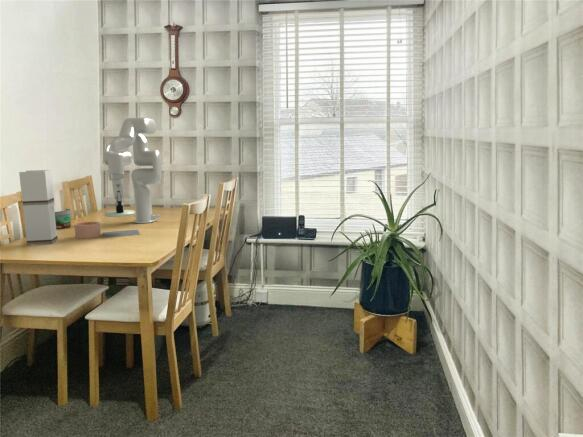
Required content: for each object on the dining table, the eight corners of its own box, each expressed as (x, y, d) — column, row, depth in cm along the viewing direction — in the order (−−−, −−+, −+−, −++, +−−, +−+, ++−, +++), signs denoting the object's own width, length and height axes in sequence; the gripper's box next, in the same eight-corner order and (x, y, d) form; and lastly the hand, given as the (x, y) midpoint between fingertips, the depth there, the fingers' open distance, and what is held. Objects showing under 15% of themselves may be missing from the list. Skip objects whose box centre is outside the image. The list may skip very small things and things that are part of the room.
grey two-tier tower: (57, 239, 266) (51, 169, 260) (52, 243, 255) (44, 171, 250) (33, 240, 264) (26, 170, 258) (26, 245, 253) (19, 172, 248)
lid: (134, 210, 283) (133, 199, 282) (136, 215, 269) (135, 203, 268) (104, 213, 278) (103, 201, 277) (105, 217, 264) (104, 206, 263)
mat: (137, 230, 285) (137, 229, 285) (140, 235, 270) (140, 234, 270) (102, 233, 279) (102, 232, 279) (103, 238, 264) (103, 237, 264)
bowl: (100, 233, 278) (99, 220, 277) (101, 237, 267) (99, 224, 266) (76, 235, 274) (74, 222, 273) (75, 240, 263) (74, 226, 262)
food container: (64, 229, 293) (62, 212, 291) (54, 229, 294) (52, 211, 293) (77, 225, 305) (76, 208, 303) (68, 225, 306) (66, 208, 304)
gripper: (125, 177, 264) (128, 214, 267) (123, 174, 279) (126, 209, 283) (109, 178, 261) (112, 215, 265) (108, 175, 277) (111, 210, 280)
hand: (119, 211), depth 274 cm, fingers closed on lid, 4 cm apart
